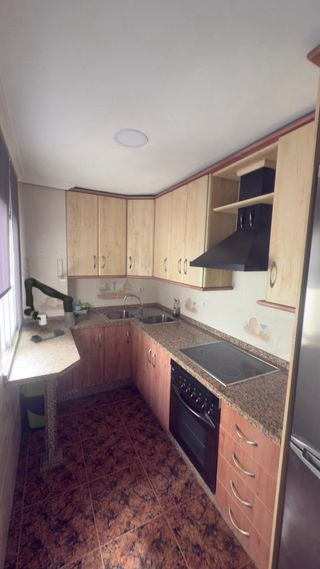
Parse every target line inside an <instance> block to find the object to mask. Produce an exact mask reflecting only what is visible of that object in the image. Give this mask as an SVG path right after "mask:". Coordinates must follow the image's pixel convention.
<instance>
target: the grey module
mask: <svg viewBox="0 0 320 569" xmlns="http://www.w3.org/2000/svg"><path fill="white" fill-rule="evenodd" d="M46 314H47V312H46V311H38V317H40V318H41V320H38V325H39V326H45V325H47V319H46Z"/></svg>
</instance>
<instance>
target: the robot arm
mask: <svg viewBox="0 0 320 569" xmlns="http://www.w3.org/2000/svg"><path fill="white" fill-rule="evenodd" d="M23 283H24V289H25V290H24V291H25V307H28V308H25V309H24V310H23V314H24V316H26V317H31V320H35V321H39V320H41V318H40V317H38V312H39V311H38V310H36V309H35V306H34V294H33V288H36V289H38V290H39V291H40V292H41V293H42V294H43V295H46V296H48V297H50V298H53V299H57V300H60V301H61V302H62V306H63V314H64V315H63V317H64V328H65V329H70V328H73V327H75V326H76V324H75V320H76V319H75V317H74V307H73V303H74V298H73V297H72V296H70V295H67V294H65V293H63V292H61V291H59V290H57V289H55V288H53V287H51V286H48V285H47V284H45V283H43V282H41V281H39V280H38V279H36V278H35V277H28V278H26V279H25V280H24V281H23ZM47 319H48V314H47V313H46V320H47Z"/></svg>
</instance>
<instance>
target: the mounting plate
mask: <svg viewBox="0 0 320 569" xmlns="http://www.w3.org/2000/svg"><path fill="white" fill-rule="evenodd" d="M66 336H67V335H66V333H65V331H64V330H61V329H60V328H57V329H54V330H53V332H51V333H47V334H44V335H41V336H40V335H38V334H35V335H32V336H31V338H29V341H30V342H31V343H33V344H35V345H36V346H37V345H40V344H43V343H46V342H50V341H54V340H57V339H60V338H63V337H66Z"/></svg>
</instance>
